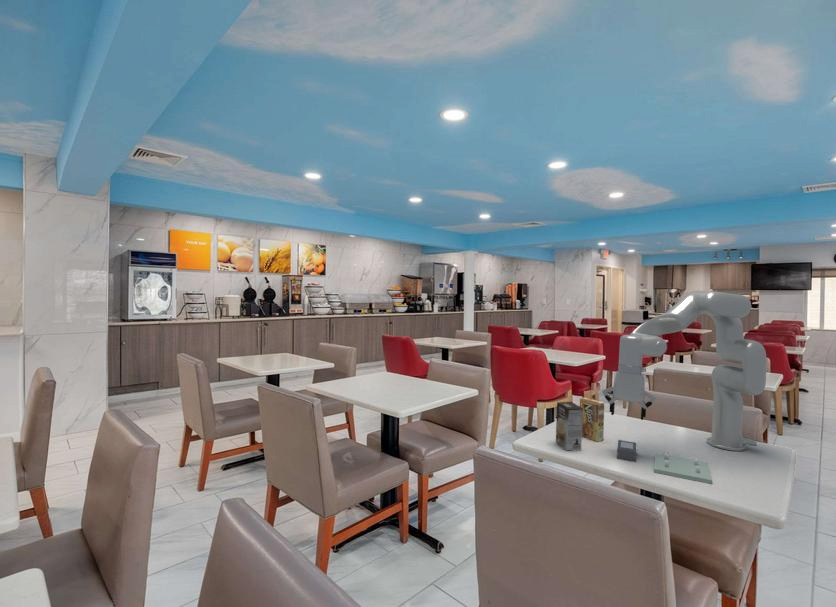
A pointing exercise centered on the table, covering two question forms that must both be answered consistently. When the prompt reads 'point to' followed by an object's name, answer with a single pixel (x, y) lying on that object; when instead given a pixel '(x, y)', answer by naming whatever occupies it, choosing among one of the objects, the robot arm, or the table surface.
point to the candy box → (592, 419)
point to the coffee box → (569, 425)
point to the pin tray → (682, 468)
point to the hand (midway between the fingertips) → (627, 416)
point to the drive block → (626, 451)
